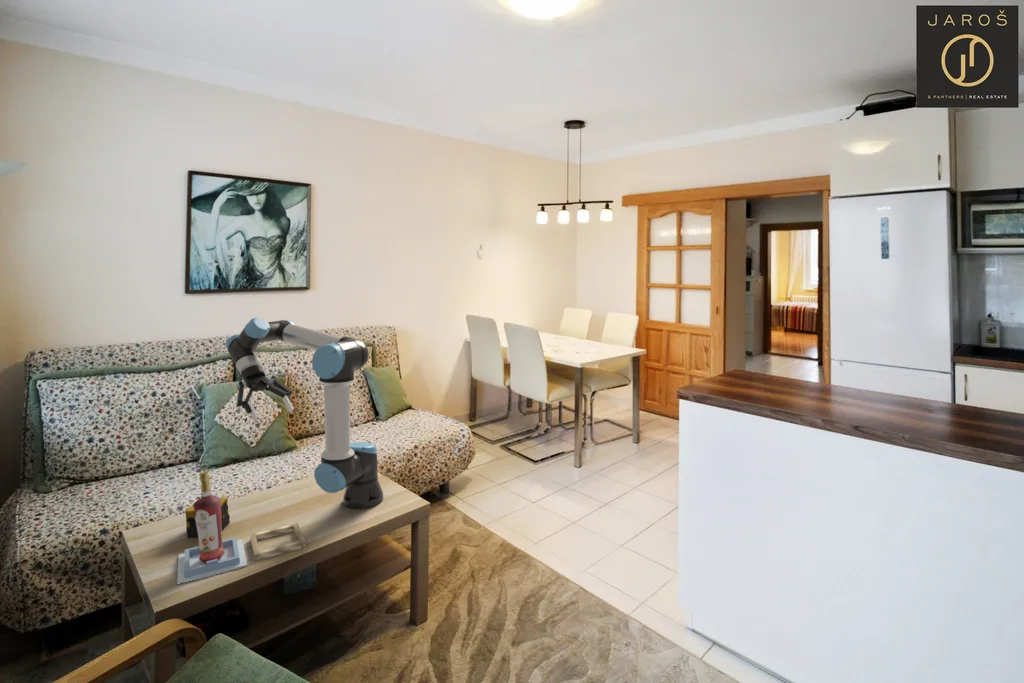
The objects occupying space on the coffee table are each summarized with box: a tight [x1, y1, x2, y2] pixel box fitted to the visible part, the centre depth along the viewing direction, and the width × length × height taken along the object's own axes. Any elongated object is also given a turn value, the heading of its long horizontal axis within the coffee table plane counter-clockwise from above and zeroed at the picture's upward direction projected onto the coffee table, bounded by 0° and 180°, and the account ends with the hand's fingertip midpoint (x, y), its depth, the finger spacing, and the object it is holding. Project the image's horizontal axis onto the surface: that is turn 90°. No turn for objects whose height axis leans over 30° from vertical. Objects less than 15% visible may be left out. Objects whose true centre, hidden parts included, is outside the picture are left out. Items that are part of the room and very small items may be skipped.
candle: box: [184, 497, 231, 539], centre depth 180 cm, size 10×10×10 cm
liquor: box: [192, 471, 225, 563], centre depth 159 cm, size 7×7×28 cm
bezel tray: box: [176, 537, 248, 585], centre depth 161 cm, size 18×18×3 cm
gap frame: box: [249, 522, 307, 561], centre depth 171 cm, size 15×15×2 cm
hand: (274, 415), depth 188 cm, fingers open, 13 cm apart
